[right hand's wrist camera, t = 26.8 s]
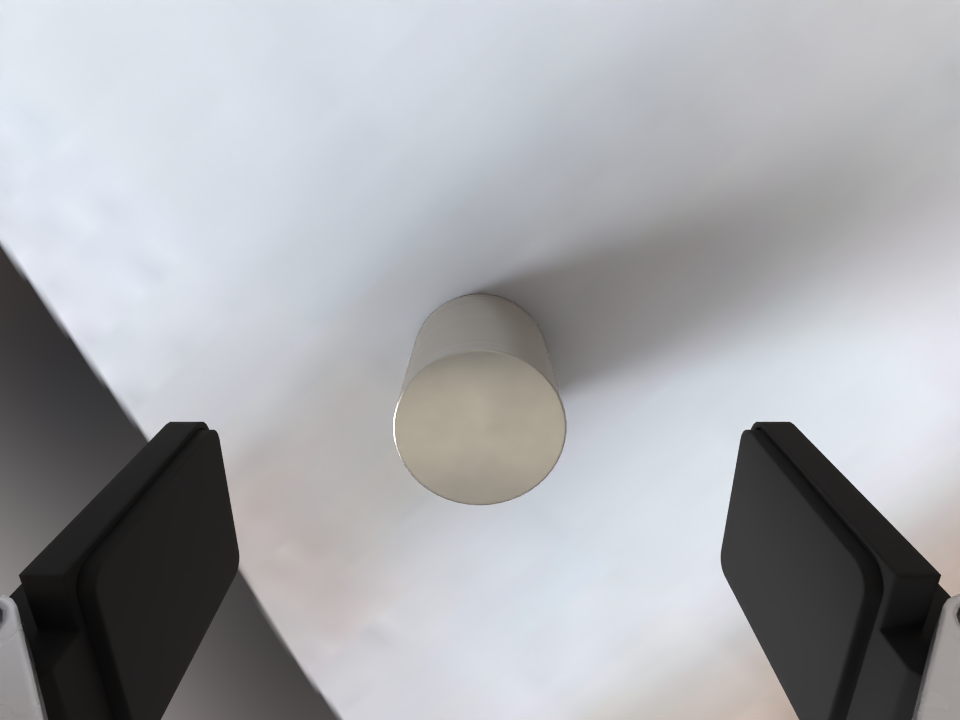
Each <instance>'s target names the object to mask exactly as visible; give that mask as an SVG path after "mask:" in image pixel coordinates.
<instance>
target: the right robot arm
mask: <svg viewBox="0 0 960 720" xmlns="http://www.w3.org/2000/svg"><path fill="white" fill-rule="evenodd" d="M238 565H239V549H238V544H237V538H236V532H235V526H234V521H233V515H232V509H231V503H230V498H229V492H228V486H227V480H226V475H225V469H224V463H223V457H222V451H221V446H220V440H219V436H218V433H217V432H216V431H215V430H209V428H208V426H207V424H205V423H204V422H169V423H168V424H166V425H165V426H164V427H163V428H162V429H161V430H160V431H159V432H158V433H157V434H156V436H155V437H154V438H153V439H152V440H151V441H150V442H149V443H148V444H147V445H146V446H145V447H144V448H143V449H142V450H141V451H140V452H139V453H138V454H137V455H136V456H135V457H134V458H133V459H132V460H131V461H130V462H129V463H128V464H127V465H126V466H125V467H124V468H123V469H122V470H121V471H120V472H119V473H118V474H117V475H116V476H115V477H114V478H113V479H112V481H111V482H110V483H109V484H108V485H107V486H106V487H105V488H104V489H103V490H102V491H101V492H100V493H99V494H98V495H97V496H96V497H95V498H94V499H93V500H92V501H91V502H90V503H89V504H88V505H87V506H86V507H85V508H84V509H83V510H82V511H81V512H80V513H79V514H78V515H77V516H76V517H75V518H74V519H73V520H72V521H71V522H70V523H69V524H68V526H66V528H65V529H64V530H63V531H62V532H61V533H60V534H59V535H58V536H57V537H56V538H55V539H54V540H53V541H52V542H51V543H50V544H49V545H48V546H47V547H46V548H45V549H44V550H43V551H42V552H41V553H40V554H39V555H38V556H37V557H36V558H35V559H34V560H33V561H32V562H31V563H30V564H29V565H28V566H27V567H26V568H25V569H24V570H23V571H22V572H21V574H20V575H19V577H20V580H21V583H22V584H21V585H20V586H19V587H18V588H17V589H16V590H15V591H14V592H13V593H12V594H11V596H10V597H7V596H5V595H2V594H0V720H161V718H162V716H163V714H164V712H165V710H166V708H167V706H168V704H169V703H170V701H171V699H172V697H173V695H174V693H175V691H176V689H177V687H178V685H179V683H180V681H181V680H182V678H183V676H184V674H185V672H186V670H187V668H188V666H189V664H190V662H191V660H192V658H193V656H194V654H195V653H196V651H197V649H198V647H199V645H200V643H201V641H202V639H203V637H204V635H205V633H206V631H207V629H208V627H209V625H210V624H211V622H212V620H213V618H214V616H215V614H216V612H217V610H218V608H219V606H220V604H221V602H222V600H223V599H224V597H225V595H226V593H227V591H228V589H229V587H230V585H231V583H232V581H233V579H234V577H235V575H236V573H237V570H238ZM721 565H722V570H723V573H724V575H725V577H726V579H727V581H728V583H729V585H730V587H731V589H732V591H733V593H734V595H735V597H736V599H737V600H738V602H739V604H740V606H741V608H742V610H743V612H744V614H745V616H746V618H747V620H748V622H749V624H750V626H751V627H752V629H753V631H754V633H755V635H756V637H757V639H758V641H759V643H760V645H761V647H762V649H763V651H764V653H765V654H766V656H767V658H768V660H769V662H770V664H771V666H772V668H773V670H774V672H775V674H776V676H777V678H778V680H779V681H780V683H781V685H782V687H783V689H784V691H785V693H786V695H787V697H788V699H789V701H790V703H791V705H792V707H793V708H794V710H795V712H796V714H797V716H798V718H799V720H960V594H958V595H955V596H953V597H950V596H949V594H948V593H947V592H946V591H945V590H944V589H943V588H942V587H941V586H940V585H939V584H938V583H939V580H940V577H941V575H940V574H939V572H938V571H937V570H936V569H935V568H934V567H933V566H932V565H931V564H930V563H929V562H928V561H927V560H926V559H925V558H924V557H923V556H922V555H921V554H920V553H919V552H918V551H917V550H916V549H915V548H914V547H913V546H912V545H911V544H910V543H909V542H908V541H907V540H906V539H905V538H904V537H903V536H902V535H901V534H900V533H899V532H898V531H897V530H896V529H895V528H894V526H893V525H892V524H891V523H890V522H889V521H888V520H887V519H886V518H885V517H884V516H883V515H882V514H881V513H880V512H879V511H878V510H877V509H876V508H875V507H874V506H873V505H872V504H871V503H870V502H869V501H868V500H867V499H866V498H865V497H864V496H863V495H862V494H861V493H860V492H859V491H858V490H857V489H856V488H855V487H854V486H853V485H852V484H851V483H850V482H849V480H848V479H847V478H846V477H845V476H844V475H843V474H842V473H841V472H840V471H839V470H838V469H837V468H836V467H835V466H834V465H833V464H832V463H831V462H830V461H829V460H828V459H827V458H826V457H825V456H824V455H823V454H822V453H821V452H820V451H819V450H818V449H817V448H816V447H815V446H814V445H813V444H812V443H811V442H810V441H809V440H808V439H807V438H806V437H805V436H804V434H803V433H802V432H801V431H800V430H799V429H798V428H797V427H796V426H795V425H794V424H792V423H791V422H756V423H755V424H753V426H752V428H751V430H745V431H744V432H743V433H742V436H741V440H740V446H739V451H738V457H737V463H736V469H735V475H734V480H733V486H732V492H731V498H730V503H729V509H728V515H727V521H726V526H725V532H724V538H723V544H722V549H721Z"/></svg>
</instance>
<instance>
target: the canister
mask: <svg viewBox="0 0 960 720" xmlns="http://www.w3.org/2000/svg"><path fill="white" fill-rule="evenodd" d="M393 432H394V440H395V444H396V448H397V451H398V453H399V456H400V458H401V460H402V462H403V463H404V465H405V467H406V468H407V470H408V471H409V472H410V473H411V475H412V476H413V477H414V478H415V479H416V480H417V481H418V482H419V483H420V484H422V485H423V486H424V487H425V488H427V489H428V490H430V491H431V492H433V493H435V494H437V495H439V496H441V497H443V498H445V499H448V500H451V501H454V502H458V503H463V504H471V505H490V504H496V503H502V502H505V501H509V500H512V499H514V498H517V497H519V496H521V495H523V494H525V493H527V492H528V491H530V490H531V489H533V488H534V487H536V486H537V485H538V484H539V483H540V482H542V481H543V480H544V479H545V478H546V477H547V475H548V474H549V473H550V472H551V471H552V469H553V468H554V466H555V465H556V463H557V461H558V459H559V457H560V455H561V453H562V450H563V447H564V443H565V438H566V415H565V410H564V406H563V403H562V400H561V396H560V393H559V390H558V386H557V383H556V379H555V376H554V373H553V369H552V366H551V363H550V359H549V356H548V352H547V349H546V346H545V342H544V339H543V336H542V333H541V331H540V329H539V327H538V326H537V324H536V323H535V321H534V320H533V319H532V317H531V316H530V315H529V314H528V313H527V312H526V311H525V310H523V309H522V308H521V307H519V306H518V305H516V304H515V303H513V302H511V301H509V300H507V299H504V298H501V297H498V296H493V295H486V294H473V295H467V296H462V297H459V298H456V299H453V300H451V301H449V302H447V303H445V304H443V305H442V306H440V307H439V308H438V309H436V310H435V311H434V312H433V313H432V314H431V315H430V316H429V317H428V318H427V319H426V321H425V322H424V324H423V325H422V327H421V329H420V331H419V333H418V335H417V338H416V341H415V345H414V348H413V351H412V355H411V358H410V361H409V365H408V368H407V371H406V375H405V378H404V382H403V385H402V388H401V392H400V395H399V398H398V402H397V405H396V408H395V414H394V420H393Z"/></svg>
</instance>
